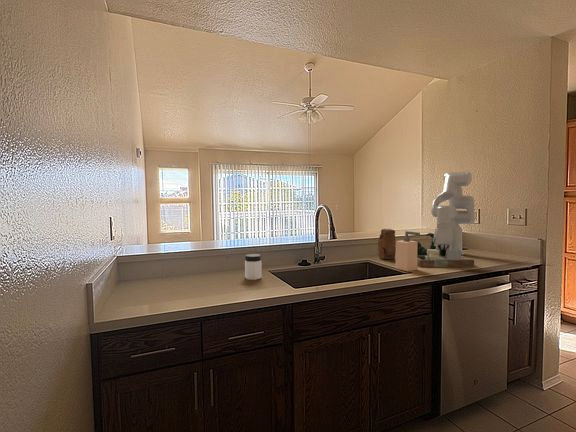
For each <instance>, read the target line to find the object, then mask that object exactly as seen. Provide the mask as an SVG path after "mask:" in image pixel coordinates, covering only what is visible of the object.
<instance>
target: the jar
mask: <svg viewBox="0 0 576 432" xmlns="http://www.w3.org/2000/svg"><path fill="white" fill-rule="evenodd" d="M262 263H263V262H262V255H261V254H260V253H249V254H245V255H244V277H245V279H246V280H247V281H248V280H251V281H256V280H260V279H262V278H263V277H262V275H263V273H262V269H263V268H262V267H263V266H262Z"/></svg>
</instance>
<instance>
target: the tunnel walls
mask: <svg viewBox="0 0 576 432" xmlns="http://www.w3.org/2000/svg"><path fill="white" fill-rule="evenodd" d="M436 250H439V256H441V255H440V249H439V248H438V247H436ZM445 256H446V260H461V256H462V255H461V250H450V247H448V248H447V250H446V255H445Z"/></svg>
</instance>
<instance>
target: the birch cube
mask: <svg viewBox="0 0 576 432" xmlns="http://www.w3.org/2000/svg"><path fill="white" fill-rule="evenodd" d="M426 249H427V257H428V258H430V259H439V250H436V249H429V248H426Z"/></svg>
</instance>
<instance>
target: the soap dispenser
mask: <svg viewBox="0 0 576 432" xmlns="http://www.w3.org/2000/svg"><path fill="white" fill-rule="evenodd" d="M404 233H405V235H404V236H403V237H402V238H403V239H402V240H396V245H395V247H396V252H395V266H394V267H395V269H396V270H402V271H405V272H410V271H411V272H412V271H416V270H418V266H417V245H418V242H419V241H418V242H417V240H411V237H410V236H409V235H412V236H421V232H417V231H416V232H415V231H408V230H407V231H406V230H405V232H404Z"/></svg>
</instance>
